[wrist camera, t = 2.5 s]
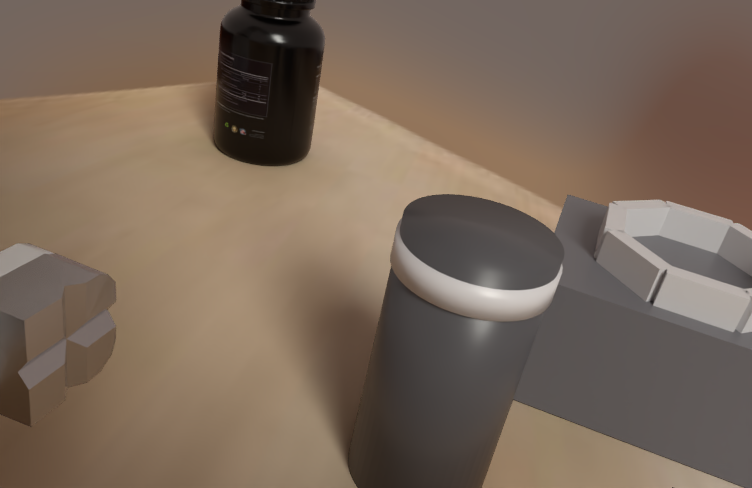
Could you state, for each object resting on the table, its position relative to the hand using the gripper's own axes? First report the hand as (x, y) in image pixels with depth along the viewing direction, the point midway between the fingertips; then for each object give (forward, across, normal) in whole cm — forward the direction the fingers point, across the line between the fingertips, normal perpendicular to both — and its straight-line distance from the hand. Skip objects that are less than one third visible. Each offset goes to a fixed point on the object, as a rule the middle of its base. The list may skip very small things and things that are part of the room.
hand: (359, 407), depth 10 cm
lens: (+12, 0, +12) cm, 18 cm away
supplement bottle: (+36, +19, +12) cm, 42 cm away
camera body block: (+23, -8, +12) cm, 28 cm away
